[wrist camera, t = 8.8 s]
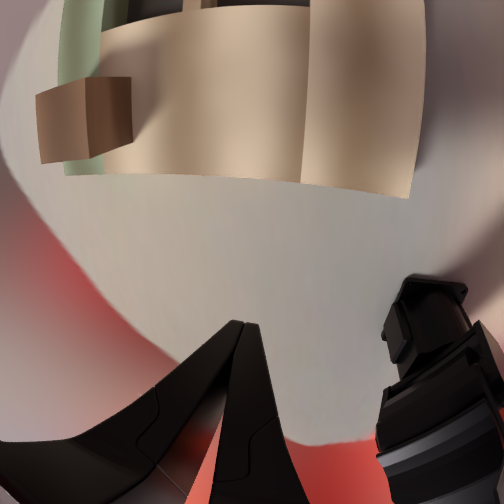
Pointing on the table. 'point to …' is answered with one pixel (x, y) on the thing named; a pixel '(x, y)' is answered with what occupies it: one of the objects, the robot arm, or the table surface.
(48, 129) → the walnut block
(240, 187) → the table surface
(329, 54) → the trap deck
